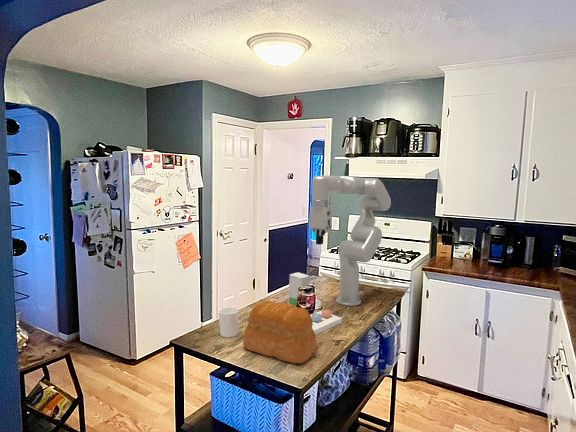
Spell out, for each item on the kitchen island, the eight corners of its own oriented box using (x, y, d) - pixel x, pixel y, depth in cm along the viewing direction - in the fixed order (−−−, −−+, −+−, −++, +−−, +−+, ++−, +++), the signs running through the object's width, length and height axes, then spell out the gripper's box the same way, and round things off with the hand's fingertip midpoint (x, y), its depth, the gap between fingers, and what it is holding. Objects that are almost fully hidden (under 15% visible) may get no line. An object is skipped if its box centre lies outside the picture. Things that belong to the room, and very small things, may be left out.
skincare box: (288, 305, 192) (288, 274, 190) (296, 301, 197) (297, 271, 195) (300, 309, 186) (301, 277, 184) (309, 305, 191) (310, 275, 189)
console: (320, 318, 175) (320, 310, 175) (342, 325, 167) (342, 318, 166) (289, 330, 161) (289, 322, 161) (311, 340, 153) (311, 331, 152)
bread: (300, 368, 131) (301, 319, 129) (238, 349, 144) (238, 305, 142) (320, 350, 145) (321, 305, 143) (262, 334, 158) (262, 293, 156)
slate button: (315, 321, 167) (316, 312, 166) (323, 324, 164) (323, 315, 163) (309, 324, 164) (309, 315, 163) (316, 327, 161) (317, 317, 160)
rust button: (325, 317, 171) (325, 308, 171) (332, 320, 168) (332, 311, 168) (319, 320, 168) (319, 311, 168) (326, 322, 166) (327, 313, 165)
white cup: (230, 328, 163) (230, 305, 162) (242, 334, 157) (242, 310, 156) (215, 334, 157) (214, 310, 156) (226, 340, 152) (226, 315, 151)
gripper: (338, 204, 171) (337, 245, 174) (313, 202, 182) (312, 240, 184) (328, 205, 166) (327, 247, 168) (302, 203, 176) (301, 242, 179)
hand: (319, 244), depth 176 cm, fingers closed
